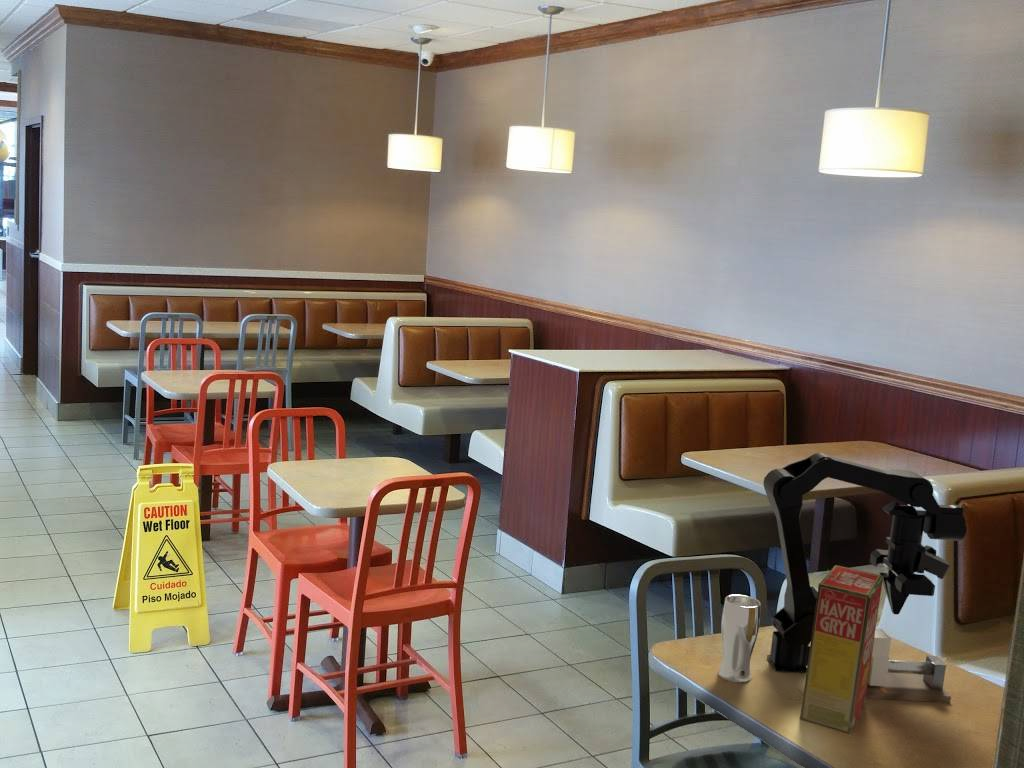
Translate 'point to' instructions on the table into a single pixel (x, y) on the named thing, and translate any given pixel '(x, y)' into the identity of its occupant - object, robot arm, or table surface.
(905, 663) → the grey metal peg
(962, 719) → the table surface
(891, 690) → the base board
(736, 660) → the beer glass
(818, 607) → the food packaging
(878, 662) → the collar
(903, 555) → the robot arm
